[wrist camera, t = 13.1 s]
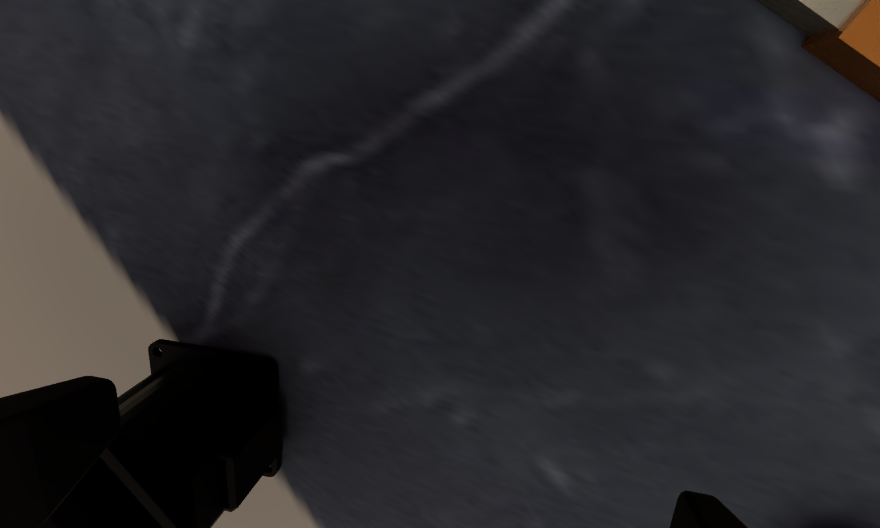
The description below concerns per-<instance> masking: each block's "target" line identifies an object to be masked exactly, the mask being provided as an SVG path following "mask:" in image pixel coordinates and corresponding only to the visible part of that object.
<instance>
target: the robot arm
mask: <svg viewBox="0 0 880 528" xmlns="http://www.w3.org/2000/svg"><path fill="white" fill-rule="evenodd" d="M159 349H160V350H161V351H162V352H161V351H160V350H159ZM148 351H149V360H150V368H151V375H150V376H149V377H147V378H146V379H144V380H143V381H141V382H140V383H138V384H137V385H135V386H134V387H133V388H131V389H130V390H128V391H127V392H125V393H124V394H122V395H121V396H120V397H118V398H117V392H116V387H115V385H114V383H113V382H112V381H110V380H109V379H105V378H99V377H94V376H83V377H79V378H75V379H72V380H68V381H64V382H60V383H56V384H52V385H49V386H45V387H41V388H37V389H33V390H29V391H25V392H21V393H18V394H14V395H9V396H6V397H2V398H0V528H211V527H212V526H213V525H214V523H215V522H216V521H217V519H218V518H219V517H220V516H221V514H222V513H223V512H224V511H229V512H232V511H234V510H235V509H236V508H238V507H239V505H240V504H241V503H242V501H243V500H244V499H245V497H246V496H247V495H248V494H249V492H250V491H251V489H252V488H253V487H254V486H255V484H256V483H257V482H258V481H259V479H260V478H261V477H262V476H267V477H273V476H275V474H276V473H277V472H278V471H279V469H280V467H281V455H280V452H281V451H282V449H283V441H282V413H281V406H280V404H279V402H278V375H277V365H276V363H275V362H274V361H273V360H272V359H270V358H268V357H262V356H257V355H251V354H245V353H239V352H233V351H228V350H222V349H216V348H210V347H205V346H199V345H193V344H187V343H181V342H176V341H170V340H164V339H159V340H157V341H155V342H154V343H152V344H150V346H149V348H148ZM262 366H264V367H266V368H267V370H268V372H267V371H265V370H264V369H263V367H262ZM270 466H271V467H270ZM670 528H747V527H746V526H745V525H744V524H743V523H742V522H741V521H740V520H739V519H738V518H737V517H736V516H735V515H734V514H733V513H732V512H731V511H730V510H729V509H728V508H727V507H725V506H724V505H723V504H722V503H721V502H720V501H719V500H718V499H717V498H715V497H714V496H711V495H707V494H702V493H697V492H691V491H684V492H682V493H681V494H680V495H679V497H678V499H677V503H676V507H675V510H674V514H673V517H672V521H671V525H670Z"/></svg>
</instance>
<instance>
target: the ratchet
mask: <svg viewBox="0 0 880 528" xmlns="http://www.w3.org/2000/svg"><path fill="white" fill-rule="evenodd" d="M757 1H759V2H760V3H761V4H763V5H764V6H766V7H767V8H768V9H770V10H771V11H773V12H774V13H776V14H777V15H778V16H780V17H781V18H783V19H784V20H785V21H787V22H788V23H790V24H791V25H792V26H794V27H795V28H797V29H798V30H799V31H801V32H802V33H804V34H805V35H806V36H808V37H809V38H808V39H807V40H806V41H805V43H804V44H803V45H802V47H803V48H805V49H806V50H808V51H809V52H810V53H812V54H813V55H815V56H816V57H817V58H819V59H820V60H822V61H823V62H824V63H826V64H827V65H829V66H830V67H831V68H833V69H834V70H836V71H837V72H838V73H840V74H841V75H843V76H844V77H845V78H847V79H848V80H850V81H851V82H852V83H854V84H855V85H857V86H858V87H859V88H861V89H862V90H864V91H865V92H866V93H868V94H869V95H871V96H872V97H873V98H875V99H876V100H878V101H879V102H880V0H757Z"/></svg>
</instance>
